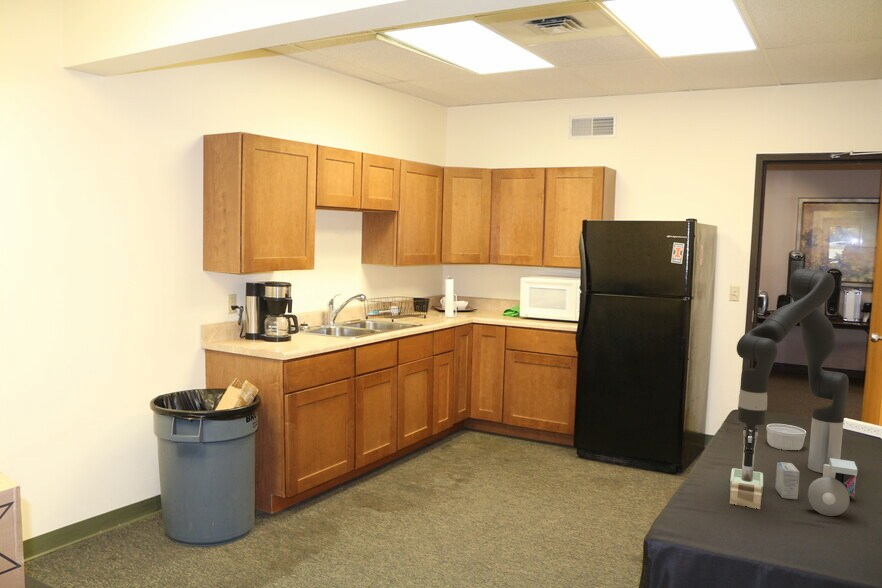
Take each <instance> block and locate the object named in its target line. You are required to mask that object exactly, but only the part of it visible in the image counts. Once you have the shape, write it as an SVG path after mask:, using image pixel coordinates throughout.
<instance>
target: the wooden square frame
mask: <svg viewBox="0 0 882 588" xmlns="http://www.w3.org/2000/svg"><path fill="white" fill-rule="evenodd" d="M729 494H730V496H729V504H730V505H734V504H735V506H740V507H741V506H742V507H745V506H747V508H750V509H751V508H752V509H756V508H757V509H758V510H761V503H762V497H761V486H755V485H749V484H743V483H738V482H732V484H731V491H730V493H729ZM757 509H756V510H757Z"/></svg>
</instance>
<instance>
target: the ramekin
mask: <svg viewBox="0 0 882 588" xmlns="http://www.w3.org/2000/svg"><path fill="white" fill-rule="evenodd" d="M765 430H766V439H767V440H766V441H767V443H768V445H769V446H770V447H772V448H775V449H777V450H781V449H782V450H781V451H786V450H798V451H800V450H801V449H803V447H804V443H805V437H806V436H807V431H806V430H805V429H804V428H802V427H799V426H795V425H790V424H783V423H769V424H767V425H766V429H765Z"/></svg>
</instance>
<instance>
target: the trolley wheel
mask: <svg viewBox="0 0 882 588" xmlns="http://www.w3.org/2000/svg"><path fill="white" fill-rule="evenodd" d="M829 464H830V465H827V464H824V468H823V473H822V477H819V478H816V479H814V480H813V481H812V482H811V483H810V484H809V487H808V489H807V498H808V501H809V504H810V505H811V507H812V508H813V510H815V511H816V512H817V513H819V514H820V515H824V516H825V517H826V516H827V517H828V516H829V517H834V516H839V515H841V514H843V513H844V512H846V510H847V509H848V507H849V506H850V501H849V495H848V492H847V489H846V488H845V486H844V485H843V484H842V483H841V482H840V481H838V480H836V479H835V474H836V472H837V473H843V474H850V475H856V477H857V476H858V466H857V467H856V465H857V464H856V462H855V461H853V460H846V459H841V458H840V459H833V458H830V462H829ZM855 464H856V465H855Z"/></svg>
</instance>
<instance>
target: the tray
mask: <svg viewBox="0 0 882 588" xmlns="http://www.w3.org/2000/svg"><path fill="white" fill-rule="evenodd" d="M741 476H742V468H735V467H732V468H731V473H730V479H729V481H730V482H729V492H731V484H732V482H738V483H743V484H749V485H755V486H761V498H762V497H763V493H764V492H763V489H764V473H763V472H760V471H754V470H753V481H752V482H746V481H743V480H741Z"/></svg>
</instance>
